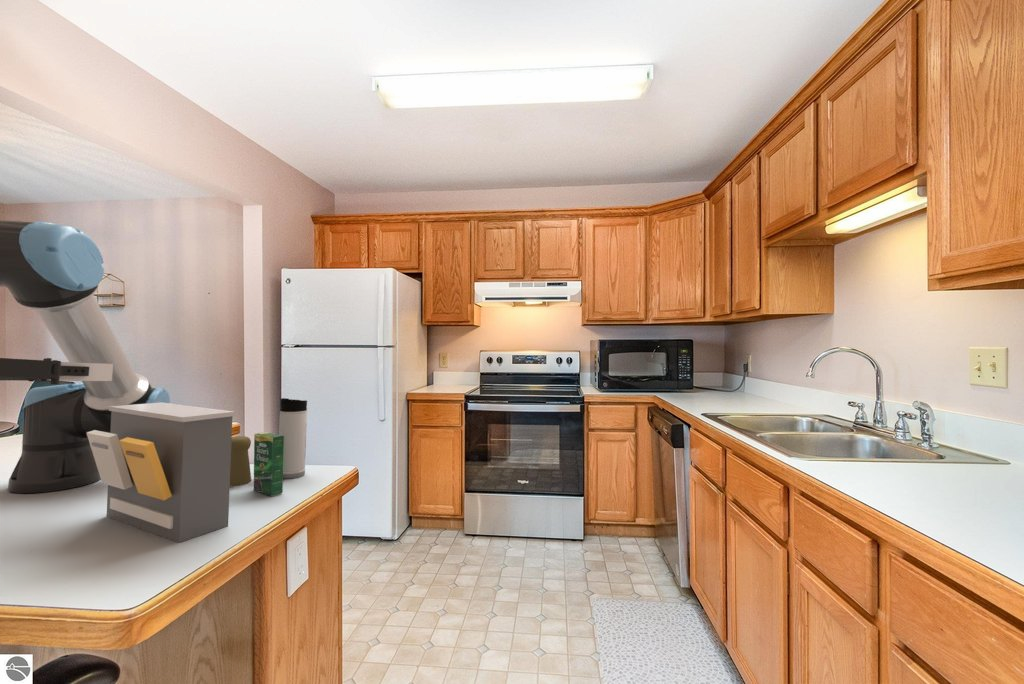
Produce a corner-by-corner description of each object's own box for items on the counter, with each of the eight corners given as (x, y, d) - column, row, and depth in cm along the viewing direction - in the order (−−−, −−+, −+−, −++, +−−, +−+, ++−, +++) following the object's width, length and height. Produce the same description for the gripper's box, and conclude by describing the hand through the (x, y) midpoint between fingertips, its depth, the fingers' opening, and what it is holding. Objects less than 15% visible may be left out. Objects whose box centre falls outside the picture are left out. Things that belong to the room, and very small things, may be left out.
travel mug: (270, 477, 110) (273, 397, 110) (291, 471, 116) (294, 395, 117) (289, 480, 108) (292, 399, 108) (310, 473, 114) (312, 397, 114)
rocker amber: (162, 501, 72) (143, 446, 69) (136, 493, 75) (117, 441, 73) (171, 496, 73) (153, 442, 71) (146, 488, 77) (127, 437, 74)
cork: (215, 484, 103) (217, 437, 104) (238, 477, 109) (240, 433, 109) (235, 487, 102) (237, 440, 102) (257, 480, 107) (259, 435, 108)
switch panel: (177, 544, 72) (182, 417, 72) (103, 516, 82) (108, 406, 83) (230, 525, 80) (235, 411, 80) (156, 503, 90) (161, 402, 91)
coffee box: (251, 490, 100) (253, 432, 100) (264, 487, 102) (266, 430, 103) (270, 497, 95) (272, 437, 96) (283, 493, 98) (285, 435, 98)
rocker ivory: (122, 490, 77) (106, 437, 75) (100, 483, 80) (84, 433, 78) (132, 486, 78) (117, 434, 76) (110, 479, 82) (94, 429, 79)
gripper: (-177, 401, 50) (85, 397, 72) (-136, 398, 45) (132, 395, 67) (-167, 337, 51) (89, 352, 73) (-126, 327, 46) (135, 346, 68)
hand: (109, 372), depth 70 cm, fingers closed
